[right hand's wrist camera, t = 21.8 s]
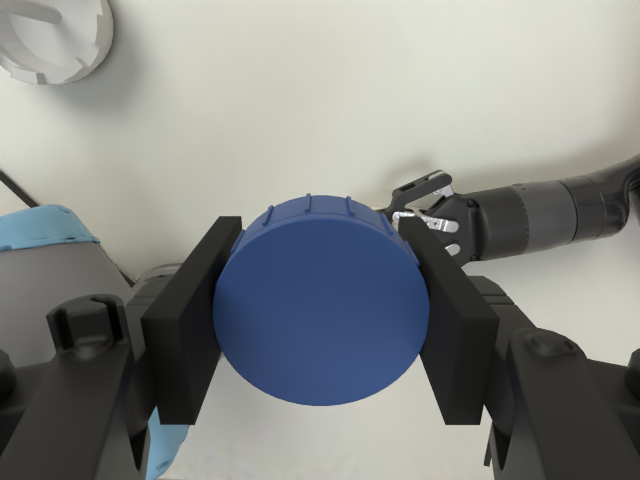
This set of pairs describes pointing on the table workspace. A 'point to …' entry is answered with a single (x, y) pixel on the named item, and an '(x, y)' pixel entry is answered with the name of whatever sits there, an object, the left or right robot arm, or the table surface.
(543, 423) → the right robot arm
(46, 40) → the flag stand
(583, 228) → the left robot arm
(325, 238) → the lid
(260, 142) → the table surface
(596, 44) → the table surface
